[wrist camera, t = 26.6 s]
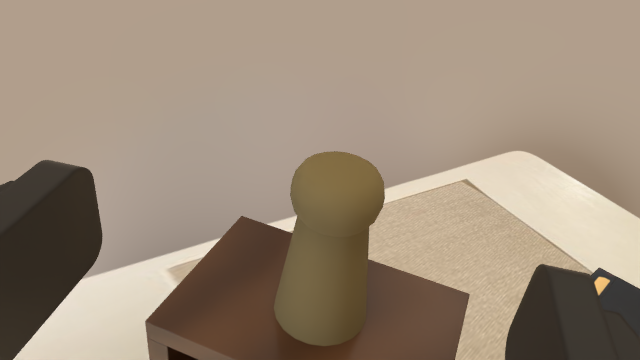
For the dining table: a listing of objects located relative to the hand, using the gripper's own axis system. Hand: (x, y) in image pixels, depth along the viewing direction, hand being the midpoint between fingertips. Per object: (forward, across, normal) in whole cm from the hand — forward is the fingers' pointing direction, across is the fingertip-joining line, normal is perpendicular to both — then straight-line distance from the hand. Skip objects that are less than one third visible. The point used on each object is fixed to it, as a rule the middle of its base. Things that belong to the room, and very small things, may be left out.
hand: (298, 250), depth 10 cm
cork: (+17, +1, +20) cm, 26 cm away
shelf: (+17, +1, +30) cm, 35 cm away
